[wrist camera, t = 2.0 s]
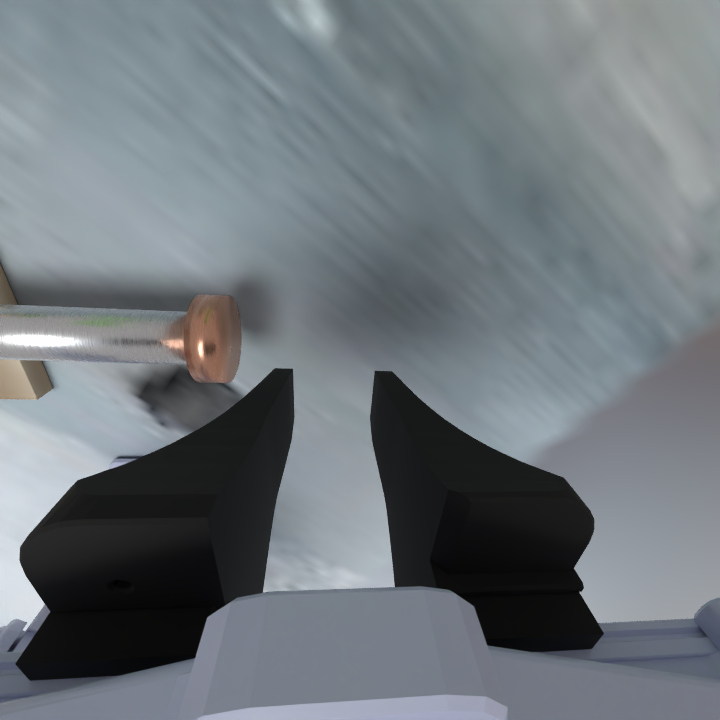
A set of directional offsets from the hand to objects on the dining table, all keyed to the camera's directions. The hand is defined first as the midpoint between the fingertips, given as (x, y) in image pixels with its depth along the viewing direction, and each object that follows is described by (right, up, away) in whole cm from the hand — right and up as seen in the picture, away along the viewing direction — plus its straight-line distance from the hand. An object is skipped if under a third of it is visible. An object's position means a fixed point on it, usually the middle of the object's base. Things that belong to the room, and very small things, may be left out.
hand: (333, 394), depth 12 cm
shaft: (-14, +3, +4) cm, 15 cm away
